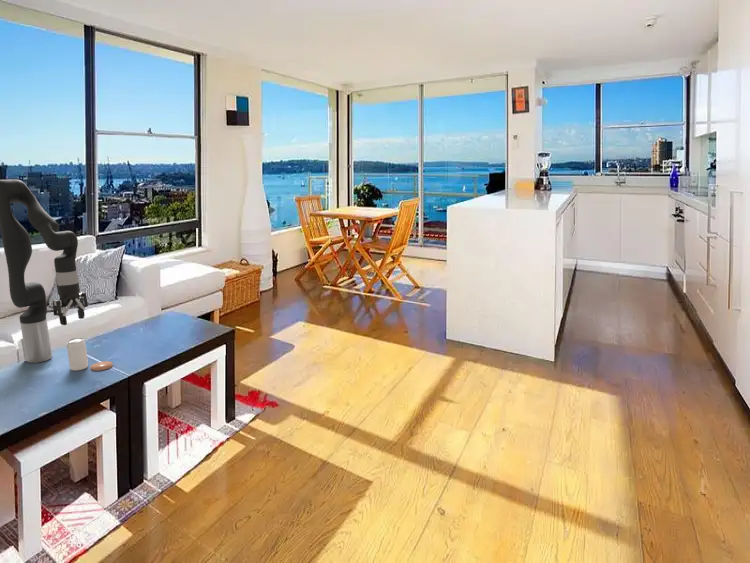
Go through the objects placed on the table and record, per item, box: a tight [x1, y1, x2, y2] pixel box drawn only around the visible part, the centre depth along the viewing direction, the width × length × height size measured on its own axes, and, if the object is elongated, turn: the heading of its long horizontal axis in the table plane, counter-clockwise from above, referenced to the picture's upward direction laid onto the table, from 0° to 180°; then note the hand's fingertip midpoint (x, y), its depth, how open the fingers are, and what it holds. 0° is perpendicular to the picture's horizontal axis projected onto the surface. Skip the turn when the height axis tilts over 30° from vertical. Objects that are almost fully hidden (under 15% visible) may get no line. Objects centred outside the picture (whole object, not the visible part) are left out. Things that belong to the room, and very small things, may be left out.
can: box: [66, 337, 89, 372], centre depth 203 cm, size 6×6×12 cm
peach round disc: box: [90, 360, 114, 372], centre depth 206 cm, size 8×8×1 cm
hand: (72, 321), depth 200 cm, fingers open, 8 cm apart
